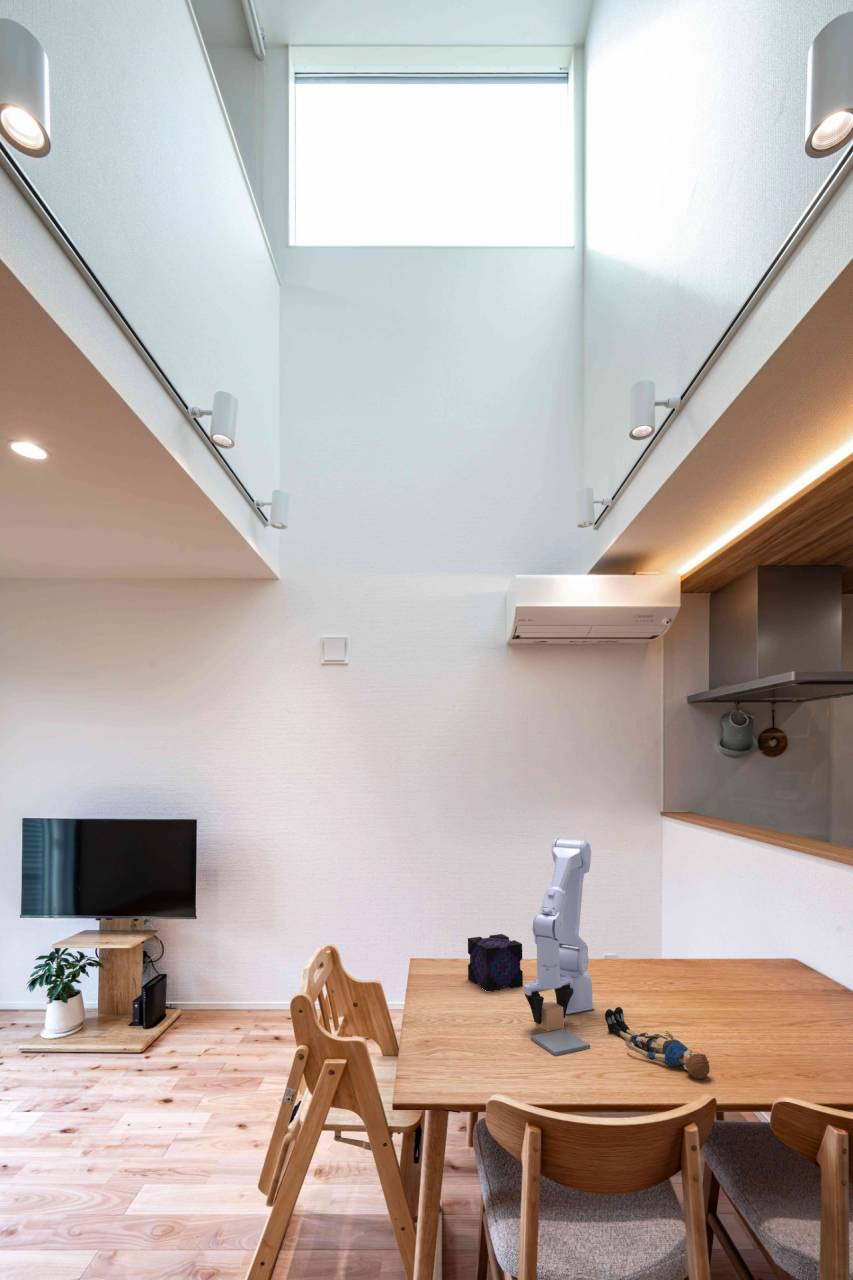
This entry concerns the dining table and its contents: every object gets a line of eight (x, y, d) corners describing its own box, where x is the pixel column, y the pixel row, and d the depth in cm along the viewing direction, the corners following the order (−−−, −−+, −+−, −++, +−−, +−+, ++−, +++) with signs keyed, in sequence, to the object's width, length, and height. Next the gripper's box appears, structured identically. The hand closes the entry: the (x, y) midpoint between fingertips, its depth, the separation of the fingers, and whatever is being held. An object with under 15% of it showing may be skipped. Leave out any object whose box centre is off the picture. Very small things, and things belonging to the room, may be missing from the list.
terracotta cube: (552, 1021, 184) (551, 1000, 184) (563, 1028, 179) (563, 1007, 180) (535, 1024, 182) (535, 1003, 182) (547, 1031, 177) (546, 1010, 178)
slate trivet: (564, 1032, 176) (564, 1028, 176) (590, 1048, 167) (590, 1044, 167) (530, 1039, 172) (530, 1036, 172) (555, 1055, 163) (554, 1052, 163)
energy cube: (486, 992, 205) (486, 948, 206) (468, 979, 216) (467, 938, 217) (522, 986, 209) (522, 943, 211) (502, 974, 220) (502, 933, 222)
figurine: (632, 1002, 181) (726, 1044, 155) (634, 1029, 181) (729, 1075, 154) (591, 1011, 176) (681, 1056, 149) (593, 1039, 175) (683, 1089, 148)
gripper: (560, 955, 189) (561, 1009, 187) (516, 963, 182) (517, 1019, 181) (578, 962, 183) (579, 1018, 181) (532, 971, 176) (534, 1029, 174)
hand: (549, 1019), depth 181 cm, fingers open, 7 cm apart
